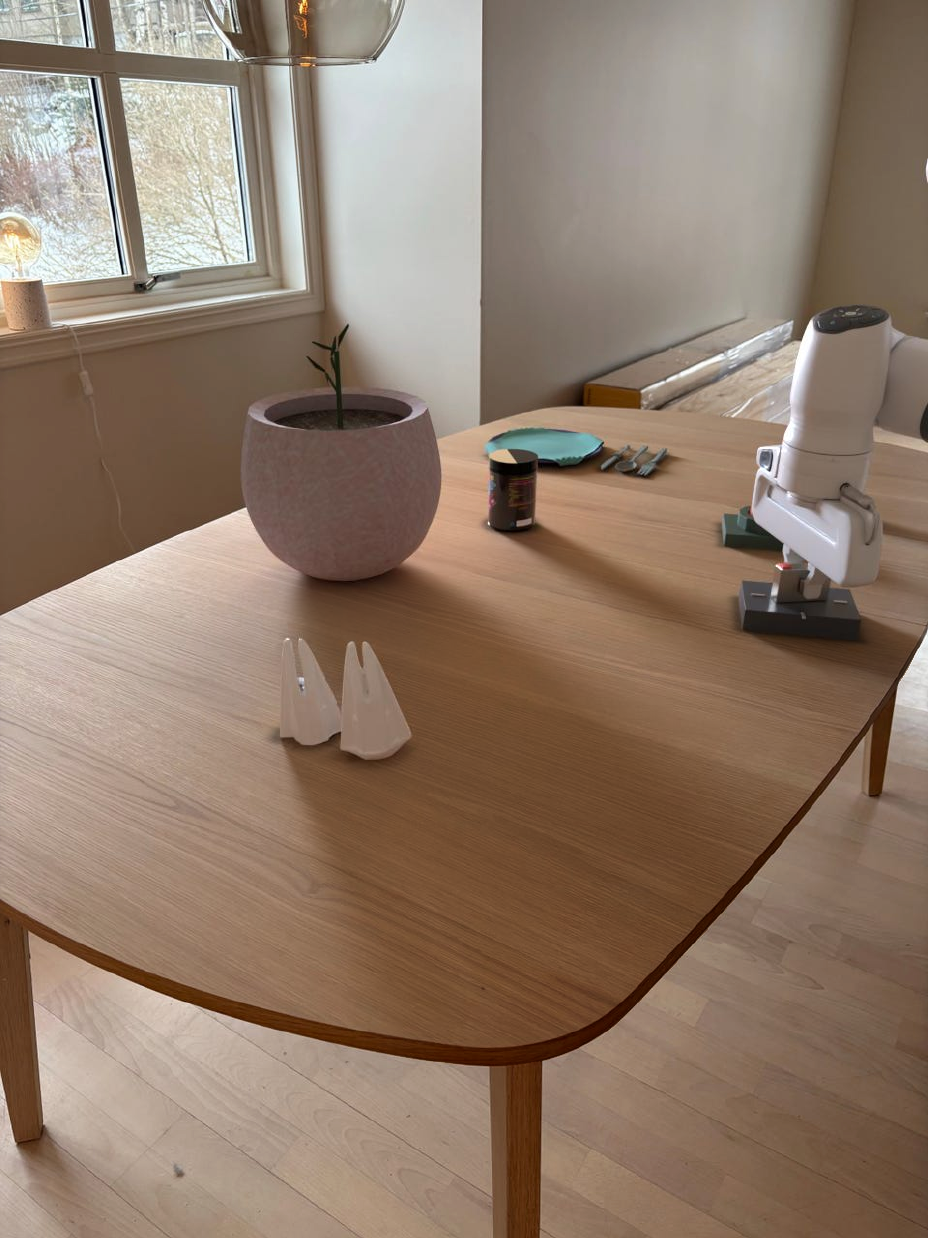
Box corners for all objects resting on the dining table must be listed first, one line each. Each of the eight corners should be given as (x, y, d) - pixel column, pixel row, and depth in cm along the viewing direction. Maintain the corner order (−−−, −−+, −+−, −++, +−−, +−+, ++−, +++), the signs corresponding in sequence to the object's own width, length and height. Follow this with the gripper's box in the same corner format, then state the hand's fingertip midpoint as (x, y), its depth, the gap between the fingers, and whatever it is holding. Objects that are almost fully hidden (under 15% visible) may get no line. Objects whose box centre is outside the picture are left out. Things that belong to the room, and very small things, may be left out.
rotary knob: (821, 594, 107) (827, 559, 105) (827, 600, 106) (834, 565, 104) (770, 597, 106) (775, 562, 104) (776, 603, 105) (781, 567, 103)
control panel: (843, 608, 111) (848, 583, 109) (857, 649, 102) (863, 622, 100) (737, 599, 113) (740, 575, 111) (742, 638, 104) (746, 612, 103)
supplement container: (514, 515, 138) (516, 445, 134) (545, 529, 133) (548, 457, 129) (477, 525, 134) (478, 454, 130) (508, 540, 130) (510, 466, 125)
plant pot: (329, 523, 135) (315, 303, 122) (476, 556, 124) (478, 319, 111) (210, 583, 116) (178, 331, 103) (370, 628, 106) (358, 353, 92)
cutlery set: (514, 433, 178) (515, 421, 177) (672, 454, 166) (674, 441, 165) (468, 461, 162) (468, 448, 161) (639, 487, 150) (641, 473, 149)
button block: (795, 533, 132) (799, 506, 130) (801, 555, 125) (806, 526, 123) (721, 527, 134) (724, 501, 132) (723, 549, 127) (727, 520, 125)
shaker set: (415, 752, 84) (412, 641, 79) (391, 777, 81) (387, 663, 76) (303, 719, 89) (294, 613, 84) (276, 741, 86) (265, 632, 81)
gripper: (910, 501, 91) (881, 630, 97) (801, 441, 109) (782, 553, 115) (851, 506, 90) (825, 635, 96) (749, 444, 107) (734, 557, 114)
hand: (801, 590), depth 105 cm, fingers closed, pressing on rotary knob
